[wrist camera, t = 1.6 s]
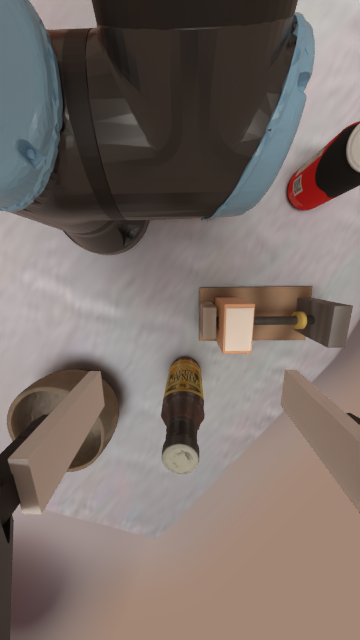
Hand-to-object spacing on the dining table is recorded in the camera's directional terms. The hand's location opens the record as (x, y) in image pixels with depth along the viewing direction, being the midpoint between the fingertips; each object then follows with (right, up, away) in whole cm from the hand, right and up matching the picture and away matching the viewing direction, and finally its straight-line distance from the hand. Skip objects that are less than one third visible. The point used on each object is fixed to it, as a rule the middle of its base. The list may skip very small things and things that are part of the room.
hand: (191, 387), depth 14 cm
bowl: (-21, -11, +28) cm, 37 cm away
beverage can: (+20, +26, +19) cm, 38 cm away
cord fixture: (+13, +6, +24) cm, 27 cm away
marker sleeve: (+7, +5, +21) cm, 23 cm away
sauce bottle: (0, -5, +27) cm, 27 cm away
